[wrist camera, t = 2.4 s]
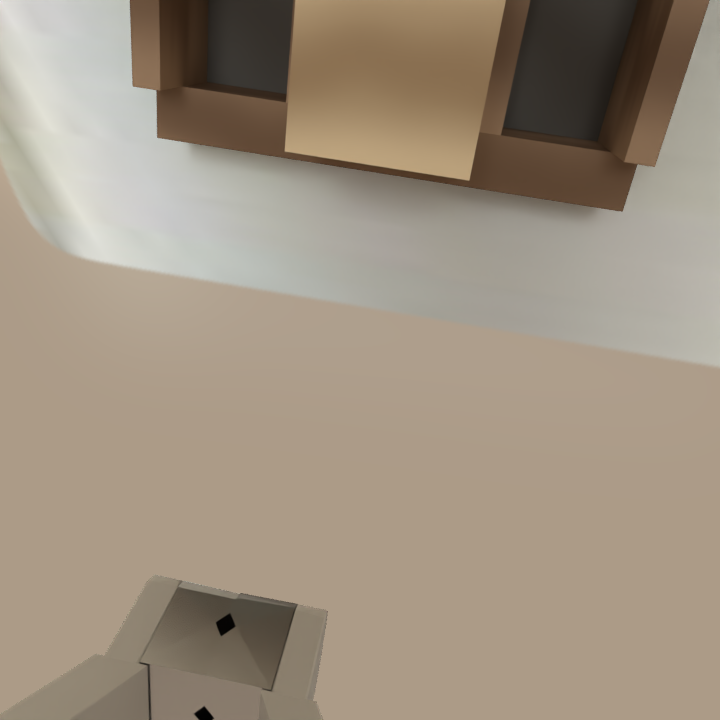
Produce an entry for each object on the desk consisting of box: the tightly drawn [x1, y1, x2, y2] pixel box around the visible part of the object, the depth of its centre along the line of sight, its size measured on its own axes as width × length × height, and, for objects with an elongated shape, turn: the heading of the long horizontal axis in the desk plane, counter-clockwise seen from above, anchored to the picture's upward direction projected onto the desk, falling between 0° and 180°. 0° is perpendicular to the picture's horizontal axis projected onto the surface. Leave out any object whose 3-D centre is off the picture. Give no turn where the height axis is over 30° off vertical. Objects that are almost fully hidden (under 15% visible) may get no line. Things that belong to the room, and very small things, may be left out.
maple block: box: [285, 0, 506, 181], centre depth 21 cm, size 6×6×4 cm
